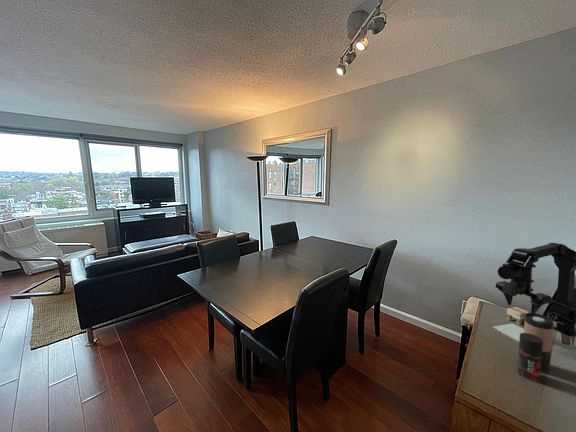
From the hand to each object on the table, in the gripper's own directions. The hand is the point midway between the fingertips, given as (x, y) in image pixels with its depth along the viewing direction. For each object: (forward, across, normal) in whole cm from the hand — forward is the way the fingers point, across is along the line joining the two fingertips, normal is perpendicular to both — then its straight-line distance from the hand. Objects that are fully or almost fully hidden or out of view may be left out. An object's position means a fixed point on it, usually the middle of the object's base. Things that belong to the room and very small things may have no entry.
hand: (520, 309), depth 108 cm
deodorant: (+14, +18, -21) cm, 31 cm away
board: (+14, -3, +3) cm, 15 cm away
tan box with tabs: (+14, -11, +15) cm, 24 cm away
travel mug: (+14, +14, -13) cm, 24 cm away
